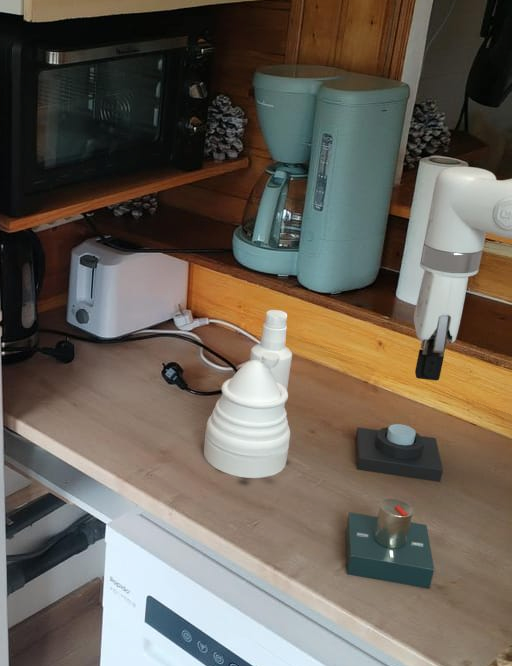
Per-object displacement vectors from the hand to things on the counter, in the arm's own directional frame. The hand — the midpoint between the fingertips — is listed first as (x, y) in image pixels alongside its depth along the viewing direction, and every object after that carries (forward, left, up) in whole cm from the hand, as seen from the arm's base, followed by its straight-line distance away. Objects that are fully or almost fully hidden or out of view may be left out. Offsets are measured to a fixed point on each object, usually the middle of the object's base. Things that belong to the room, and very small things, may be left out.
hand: (426, 377), depth 133 cm
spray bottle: (+22, -13, -16) cm, 31 cm away
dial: (+4, +24, -13) cm, 28 cm away
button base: (+1, -3, -16) cm, 16 cm away
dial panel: (+4, +24, -16) cm, 30 cm away
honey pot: (+24, +3, -16) cm, 29 cm away
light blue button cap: (+1, -2, -12) cm, 13 cm away
